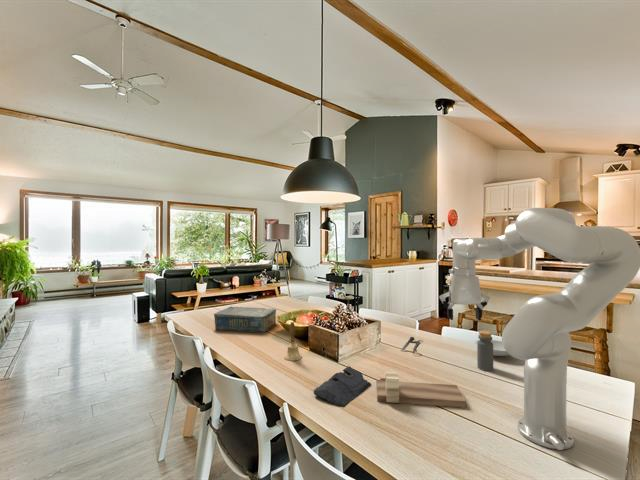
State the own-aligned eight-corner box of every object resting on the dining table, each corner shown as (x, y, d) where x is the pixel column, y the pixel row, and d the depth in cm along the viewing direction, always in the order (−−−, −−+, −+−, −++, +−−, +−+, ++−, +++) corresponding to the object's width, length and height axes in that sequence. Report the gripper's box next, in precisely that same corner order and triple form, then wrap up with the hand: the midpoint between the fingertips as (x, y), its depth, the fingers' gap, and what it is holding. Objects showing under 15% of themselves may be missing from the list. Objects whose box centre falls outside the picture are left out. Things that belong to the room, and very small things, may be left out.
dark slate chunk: (306, 396, 109) (305, 383, 109) (339, 373, 127) (339, 362, 126) (343, 410, 100) (343, 396, 100) (374, 384, 118) (374, 371, 118)
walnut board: (466, 407, 100) (466, 401, 100) (377, 401, 104) (377, 395, 104) (456, 390, 111) (456, 385, 111) (376, 385, 115) (376, 380, 115)
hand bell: (283, 361, 139) (282, 325, 139) (284, 354, 147) (284, 320, 147) (301, 360, 139) (301, 324, 139) (302, 353, 147) (302, 319, 147)
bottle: (495, 371, 126) (495, 334, 126) (479, 370, 127) (479, 333, 127) (490, 365, 132) (490, 330, 132) (475, 364, 133) (475, 329, 133)
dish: (472, 356, 142) (472, 345, 142) (477, 347, 154) (477, 337, 154) (518, 365, 132) (518, 353, 132) (519, 354, 144) (519, 343, 144)
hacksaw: (410, 338, 168) (410, 336, 168) (430, 341, 163) (430, 338, 163) (398, 353, 147) (398, 350, 147) (420, 357, 142) (420, 354, 142)
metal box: (230, 320, 207) (230, 305, 207) (277, 323, 200) (277, 308, 199) (212, 330, 186) (212, 313, 186) (263, 333, 179) (263, 316, 179)
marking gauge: (399, 402, 102) (399, 380, 102) (386, 401, 103) (386, 379, 103) (396, 387, 112) (396, 367, 112) (384, 387, 113) (384, 366, 113)
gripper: (442, 273, 111) (442, 321, 111) (493, 273, 109) (494, 322, 109) (436, 271, 119) (437, 316, 119) (484, 271, 117) (485, 317, 117)
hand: (464, 319), depth 114 cm, fingers open, 9 cm apart
